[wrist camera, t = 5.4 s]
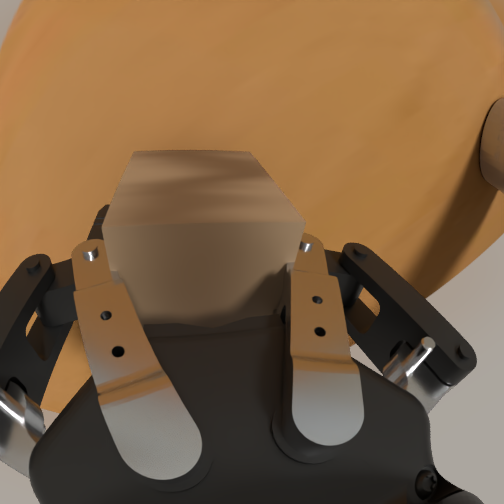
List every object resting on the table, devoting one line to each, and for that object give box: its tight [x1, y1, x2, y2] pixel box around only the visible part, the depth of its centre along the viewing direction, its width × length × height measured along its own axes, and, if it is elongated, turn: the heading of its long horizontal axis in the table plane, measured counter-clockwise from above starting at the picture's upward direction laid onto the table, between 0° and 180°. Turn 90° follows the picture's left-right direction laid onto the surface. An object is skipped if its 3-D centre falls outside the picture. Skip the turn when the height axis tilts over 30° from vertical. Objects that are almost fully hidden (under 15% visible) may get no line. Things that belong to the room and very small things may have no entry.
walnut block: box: [102, 150, 306, 328], centre depth 10 cm, size 5×5×6 cm
